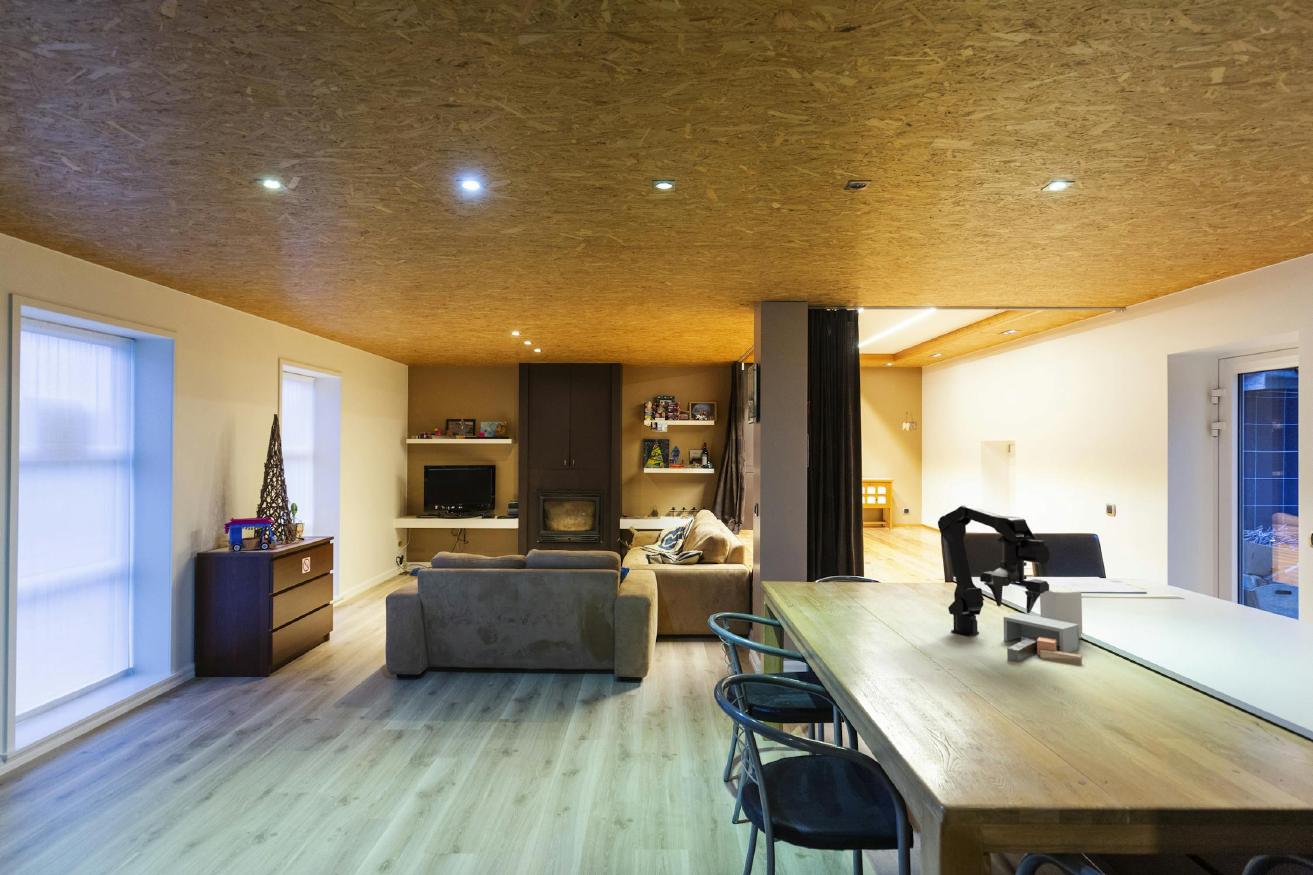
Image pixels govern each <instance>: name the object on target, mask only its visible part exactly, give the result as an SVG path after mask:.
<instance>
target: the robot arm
mask: <svg viewBox="0 0 1313 875" xmlns="http://www.w3.org/2000/svg"><path fill="white" fill-rule="evenodd" d="M972 521H974V522H977V523H980V524H982V525H985V526H988V527H990V528H992V529H994V530H995V532H996V533H998V534H999V535H1001V536H1000V537H999V538H997V539H996V542H998V543H1002V561H1000V562H999V567H998V568H997V569H995V570H993V571H992V570H991V571H990V570H989V571H983V572H981V574H980V576H979V580H980V582H982V583H983V584H984V586H987V587H988V588H989V589H990V591H991V592H992V595H993V598H994V600H995V602H996V605H997V607H1002V602H1003V600H1002V599H1003V588H1004V587H1008V586H1010V585H1013V586H1015V585H1016V586H1019V587H1025V589H1026V590H1025V591H1024V593H1025V595H1026V614H1030V613H1031V612H1032V610H1033V607H1034V605H1035V604H1036V602H1037V600H1038V599H1039V598H1040V594H1041V593H1045V591H1049V587H1050V584H1049V583H1048V581H1047V580H1041V579H1036V578H1035V579H1028V580H1027V577H1028V576H1027V575H1025V567H1026V566H1027V563H1034V564H1038V565H1046V564H1047V563H1048V562H1049V559H1050V556H1051V552H1050V550H1049V548H1048V546H1047V545H1046V541H1045V540H1037V539H1036V537H1035V535H1034V534H1033V532H1032V530H1031V528H1030V527H1029V525H1028V523H1027V520H1026V519H1024V517H1023V518H1022V517H1019V516H1008V515H1007V516H1006V515H1000V514H997V513H995V512H991V511H988V510H984V509H982V508H979V507H976V506H974V505H969V504H967V505H965V504H964V505H960V506H958V507H957V508H956V509H954V510H952V511H951V512H948V513H947V514H945V515H942V516H941V517H939V519H938V521H937V526H938V529H939V532H940V535H941V536H942V538H943V539H944V540H945V541H946V542H947V545H948V551H949V554H950V555H949V556H950V559H951V564H952V568H953V572H954V578H955V582H956V586H955V589H954V594H953V595H954V596H953V597H954V601H952V603H951V604H950V605H949V606H948V607H947V608H948V614H950V615H951V616H953V629H951V630H950V632H951V633H955V634H958V635H962V636H966V637H970V636H973V635H978V634H980V631H979V630H978V620H977V616H978V615H979V616H980V614H981V611H982V608H983V607H984V601H985V599H984V596H983V590H982V588H981V587H977V586H976V585H975V583H974V582H973V577H972V573H971V569H970V564H969V560H968V555H967V552H966V546H965V543H964V542H965V541H964V540H965V536H966V534H967V528H966V526H968V525H970V523H971V522H972Z"/></svg>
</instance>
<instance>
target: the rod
mask: <svg viewBox="0 0 1313 875" xmlns="http://www.w3.org/2000/svg"><path fill="white" fill-rule="evenodd" d="M1040 653H1041V656H1040V659H1043V660H1049V661H1050V660H1051V661H1055V662H1062V663H1068V664H1074V665H1079V666H1080V665H1082V663H1083V654H1078V653H1074V652H1073V653H1072V652H1069V653H1067V652H1060V650H1059V651H1058V650H1057V651H1054V650H1047V649H1041V651H1040Z"/></svg>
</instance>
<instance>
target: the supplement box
mask: <svg viewBox="0 0 1313 875" xmlns="http://www.w3.org/2000/svg"><path fill="white" fill-rule="evenodd" d="M1039 602H1040V603H1039V607H1040V608H1039V609H1040V617H1043V618H1048V619H1053V620H1058V621H1063V622H1069V623H1074V624H1079V639H1082V638H1081V634H1082V635H1083V604H1082V602H1083V600H1082V592H1081V591H1078V590H1075V589H1072V588H1069V587H1067V586H1066V587H1065V586H1059V587H1058V586H1056V587H1055V586H1054V587H1053V586H1052V587H1051V586H1049V591H1045V593H1041V594H1040V596H1039Z"/></svg>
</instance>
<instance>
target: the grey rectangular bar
mask: <svg viewBox="0 0 1313 875" xmlns="http://www.w3.org/2000/svg"><path fill="white" fill-rule="evenodd" d="M1037 640H1038V638H1033V637H1027V636H1021V637H1020V641H1019V642H1017V643H1014V644H1013V645H1010V646H1009V647H1007V648H1006V650H1007V656H1006V657H1007V658H1006V659H1007V661H1010V662H1015V663H1020V662H1022V661H1024V660H1025V659H1027V658H1029V657H1031V656H1033V655H1034V654H1037Z"/></svg>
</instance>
